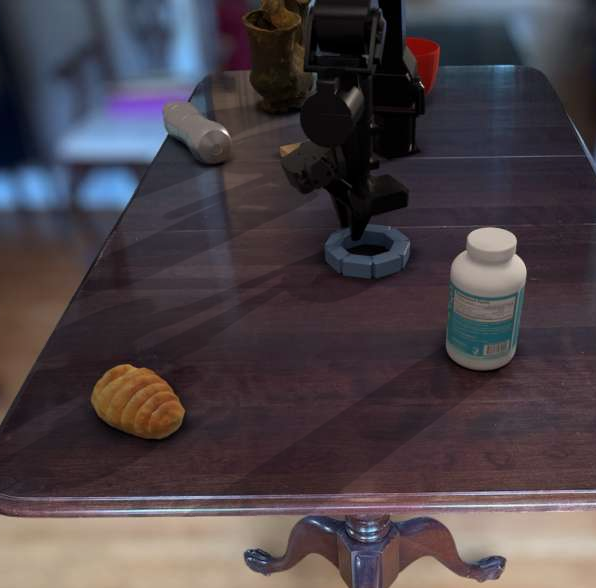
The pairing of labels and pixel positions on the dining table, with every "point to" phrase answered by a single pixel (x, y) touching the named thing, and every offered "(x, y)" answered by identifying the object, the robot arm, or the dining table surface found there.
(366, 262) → the ring
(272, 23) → the pottery vessel
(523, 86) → the dining table surface
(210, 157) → the plastic bottle
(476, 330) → the pill bottle
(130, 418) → the pastry
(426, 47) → the ceramic cup
